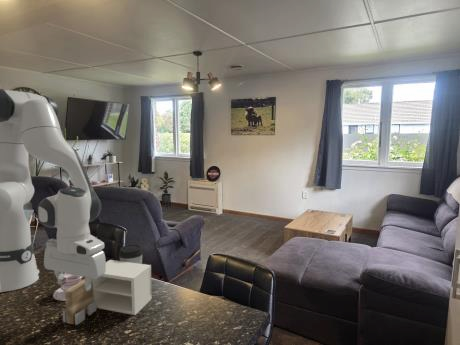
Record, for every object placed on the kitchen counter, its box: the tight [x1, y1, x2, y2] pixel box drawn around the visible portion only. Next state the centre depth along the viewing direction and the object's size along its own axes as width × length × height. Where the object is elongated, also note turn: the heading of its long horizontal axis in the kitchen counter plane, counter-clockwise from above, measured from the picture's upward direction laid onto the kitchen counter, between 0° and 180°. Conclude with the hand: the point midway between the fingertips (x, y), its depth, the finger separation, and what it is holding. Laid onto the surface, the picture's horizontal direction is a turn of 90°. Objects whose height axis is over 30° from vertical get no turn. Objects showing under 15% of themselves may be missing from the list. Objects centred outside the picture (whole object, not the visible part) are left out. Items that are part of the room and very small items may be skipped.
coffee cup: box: [118, 244, 144, 264], centre depth 110 cm, size 8×8×15 cm
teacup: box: [52, 273, 84, 302], centre depth 106 cm, size 12×12×6 cm
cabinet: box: [62, 259, 153, 325], centre depth 95 cm, size 19×19×12 cm
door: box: [64, 278, 93, 325], centre depth 92 cm, size 3×8×10 cm, turn 165°
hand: (74, 286), depth 91 cm, fingers open, 8 cm apart
